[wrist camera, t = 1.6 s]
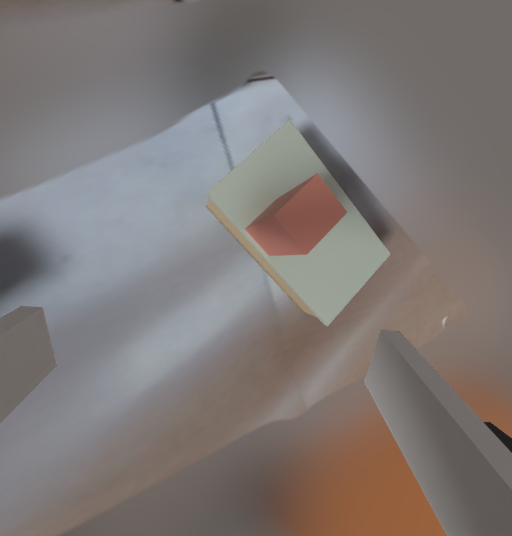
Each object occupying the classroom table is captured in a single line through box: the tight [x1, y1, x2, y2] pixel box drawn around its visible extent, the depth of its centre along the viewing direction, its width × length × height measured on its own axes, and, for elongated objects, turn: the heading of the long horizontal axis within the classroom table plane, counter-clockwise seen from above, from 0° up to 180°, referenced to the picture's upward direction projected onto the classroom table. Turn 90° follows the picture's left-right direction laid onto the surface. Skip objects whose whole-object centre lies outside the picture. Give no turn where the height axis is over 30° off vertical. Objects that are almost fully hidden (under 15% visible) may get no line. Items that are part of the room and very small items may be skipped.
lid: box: [207, 120, 390, 326], centre depth 26 cm, size 21×13×10 cm, turn 43°
